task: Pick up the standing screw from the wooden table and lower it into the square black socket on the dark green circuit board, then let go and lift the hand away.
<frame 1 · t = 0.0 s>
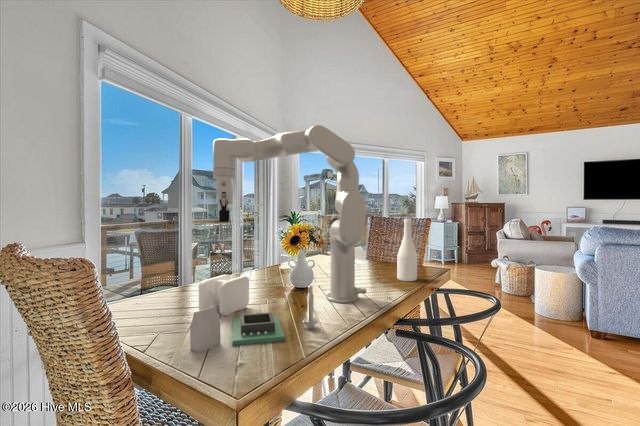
hand: (224, 221, 127), 31 cm above the table, tool pointing down, fingers open, 9 cm apart
cable organizer: (224, 311, 123), on the table
circuit board: (257, 330, 104), on the table
screw: (310, 328, 107), on the table
wine bottle: (406, 279, 173), on the table
tea bag: (205, 347, 93), on the table
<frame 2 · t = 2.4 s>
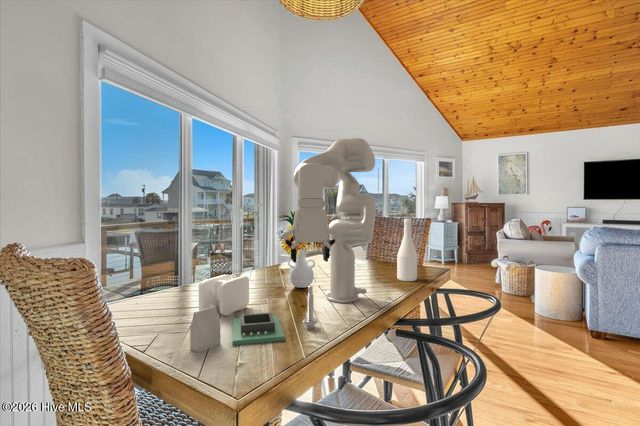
hand: (310, 261, 106), 20 cm above the table, tool pointing down, fingers open, 9 cm apart
nothing on the table moved.
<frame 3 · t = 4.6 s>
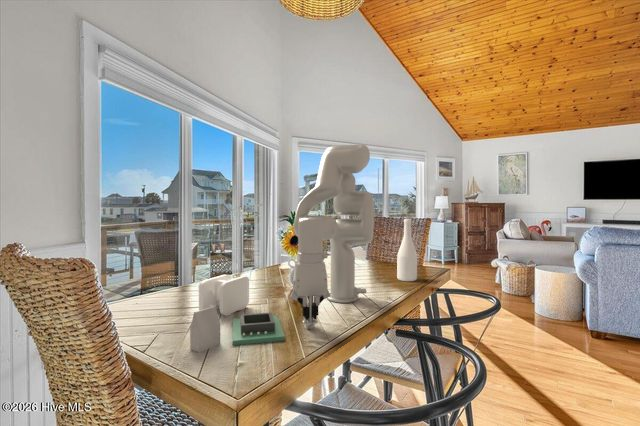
hand: (310, 317, 107), 3 cm above the table, tool pointing down, fingers closed on screw, 2 cm apart
screw: (310, 328, 107), on the table, touching gripper
everything else where it was.
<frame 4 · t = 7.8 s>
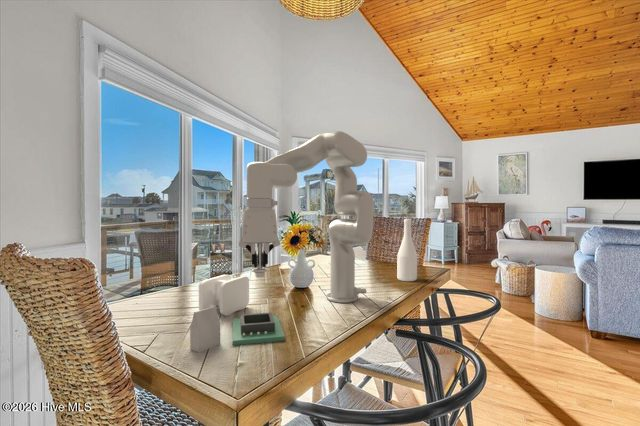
hand: (259, 266, 104), 19 cm above the table, tool pointing down, fingers closed on screw
screw: (259, 277, 104), point 16 cm above the table, touching gripper
everything else where it was.
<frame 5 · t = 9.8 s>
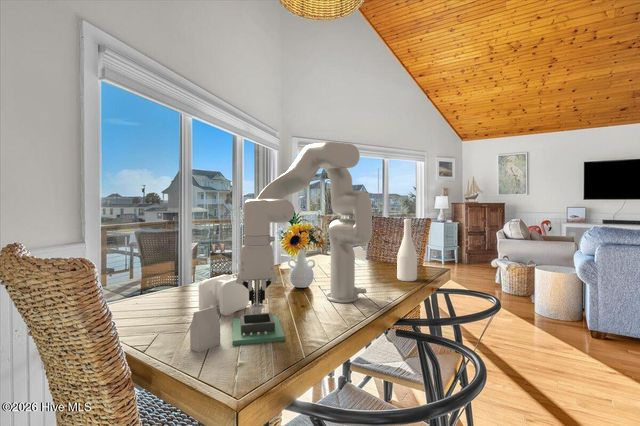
hand: (256, 302, 104), 9 cm above the table, tool pointing down, fingers closed on screw
screw: (256, 313, 104), point 5 cm above the table, touching gripper
everything else where it was.
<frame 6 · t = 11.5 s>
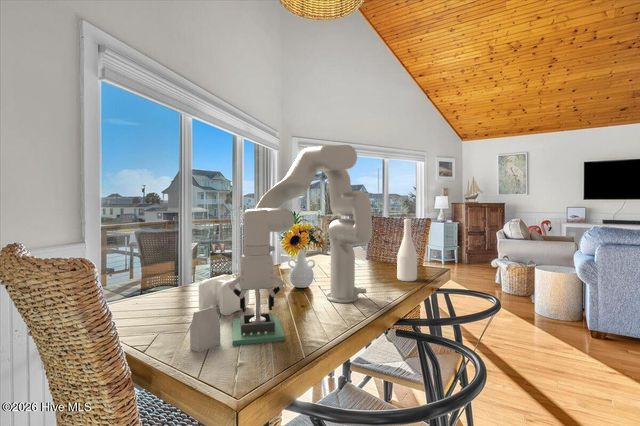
hand: (257, 309, 104), 6 cm above the table, tool pointing down, fingers open, 7 cm apart
screw: (257, 327, 104), point 1 cm above the table, touching circuit board
everything else where it was.
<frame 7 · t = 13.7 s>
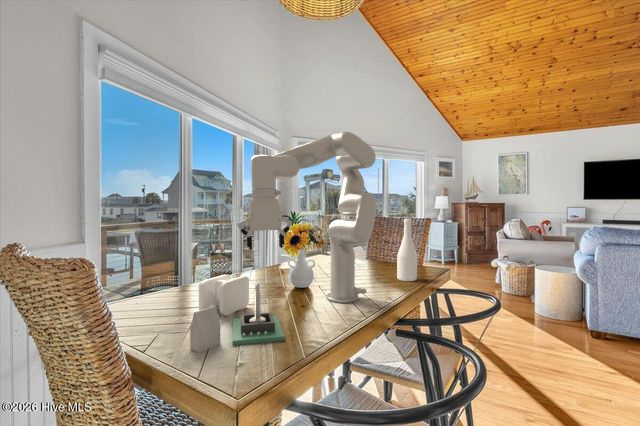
hand: (266, 248, 112), 24 cm above the table, tool pointing down, fingers open, 9 cm apart
nothing on the table moved.
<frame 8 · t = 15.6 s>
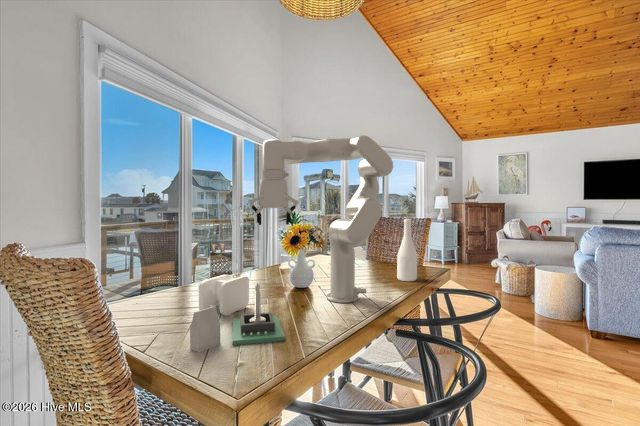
hand: (273, 224, 123), 30 cm above the table, tool pointing down, fingers open, 9 cm apart
nothing on the table moved.
at the end: screw 0.2 cm off-centre on the circuit board, point 1.0 cm above the circuit board's base; screw tilted 0°; the gripper is holding nothing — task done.
